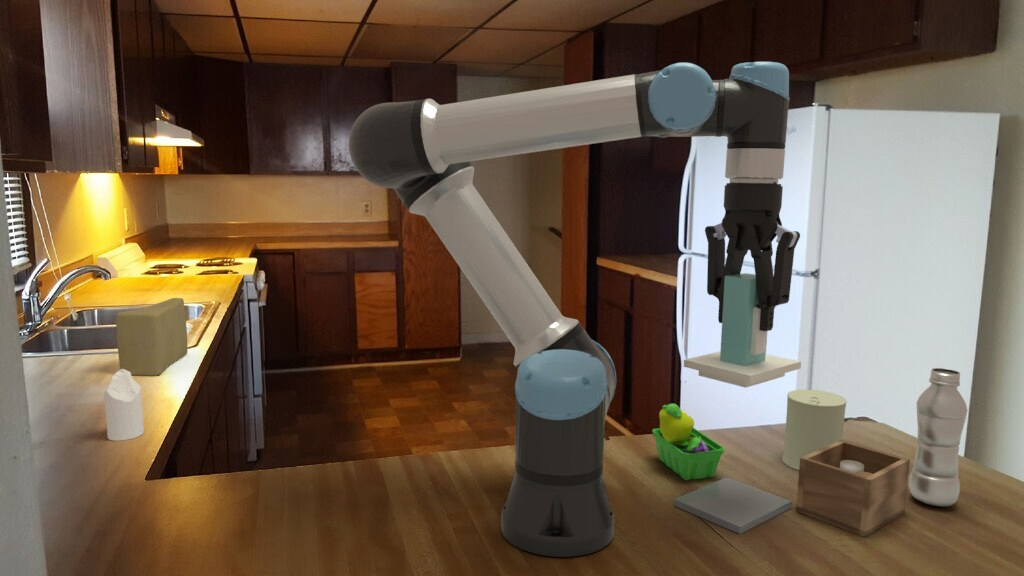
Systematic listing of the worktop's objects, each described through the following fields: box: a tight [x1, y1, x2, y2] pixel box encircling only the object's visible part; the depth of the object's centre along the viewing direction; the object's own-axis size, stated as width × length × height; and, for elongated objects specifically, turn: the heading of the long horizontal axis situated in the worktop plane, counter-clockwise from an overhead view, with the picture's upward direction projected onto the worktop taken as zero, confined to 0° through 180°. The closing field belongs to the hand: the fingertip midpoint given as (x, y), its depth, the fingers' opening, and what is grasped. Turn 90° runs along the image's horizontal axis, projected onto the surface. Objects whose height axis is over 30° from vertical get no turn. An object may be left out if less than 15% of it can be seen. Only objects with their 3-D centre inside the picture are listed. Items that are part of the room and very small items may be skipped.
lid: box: [683, 273, 802, 389], centre depth 105 cm, size 13×11×14 cm
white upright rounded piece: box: [103, 368, 145, 442], centre depth 133 cm, size 6×12×6 cm
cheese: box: [115, 297, 188, 377], centre depth 182 cm, size 22×10×15 cm, turn 177°
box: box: [795, 439, 911, 538], centre depth 107 cm, size 12×10×8 cm
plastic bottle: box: [908, 367, 968, 508], centre depth 110 cm, size 6×7×20 cm
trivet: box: [673, 476, 793, 535], centre depth 109 cm, size 13×11×1 cm
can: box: [781, 389, 847, 471], centre depth 125 cm, size 9×9×12 cm
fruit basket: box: [651, 403, 725, 481], centre depth 122 cm, size 11×9×11 cm
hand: (743, 349), depth 105 cm, fingers closed on lid, 4 cm apart
